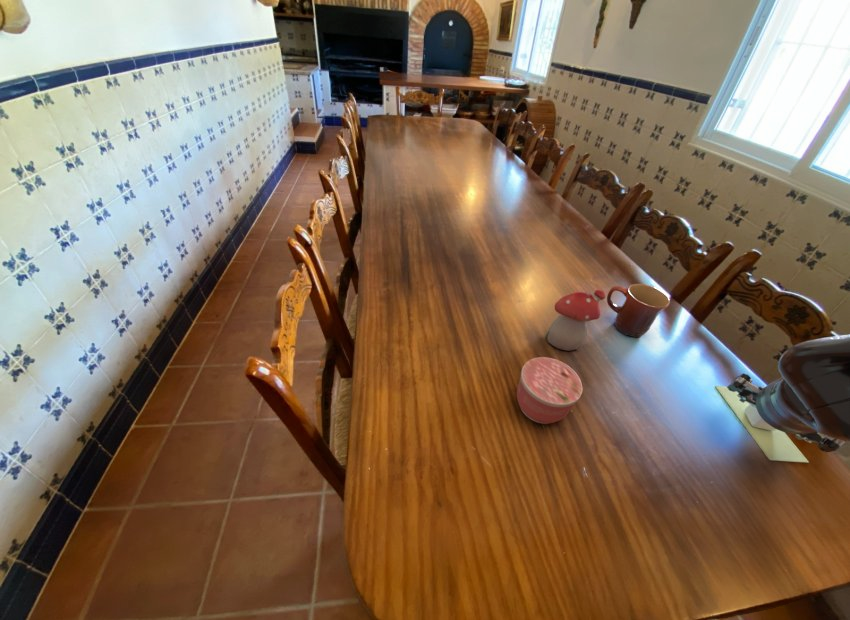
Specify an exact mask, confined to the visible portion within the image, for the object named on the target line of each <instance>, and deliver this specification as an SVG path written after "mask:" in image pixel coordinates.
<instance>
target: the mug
mask: <svg viewBox="0 0 850 620" xmlns="http://www.w3.org/2000/svg"><path fill="white" fill-rule="evenodd" d="M615 291H617V292H620V293H621V294H622V295H623V296H624V297H625V300H624V302H623V304H622V305H620V306H619V305H617V304H615V303H614V302H613V300H612V298H613V297H612V296H613V293H615ZM606 303H607V305H608V307H609V308H610V309H611V310H612V311H613V312H614V313H616V316H615V319H614V325H615V327H616V328H617V330H619V332H621V333H622V334H624V335H627V336H629V337H632V338H633V337H636V338H638V337H643V336H645V334H647V333H648V331H649V330H650V329H651V327H652V325H653V324H654V322H655V321H656V319H657V317H658V315H659V314H661V313H662V311H664V310H665V309H666V308H667V307H669V305H670V304H671V300H670V298H669V296H668V295H667V294H666V293H665V292H663V291H662V290H660V289H659V288H657V287H654V286H652V285H649V284H644V283H633V284H630V285H629V286H628V287H624V286H621V285H615V286H612V287H610V289H609V291H608V292H607V295H606Z"/></svg>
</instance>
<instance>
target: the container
mask: <svg viewBox="0 0 850 620" xmlns="http://www.w3.org/2000/svg"><path fill="white" fill-rule="evenodd" d="M582 394H583V384H582V381H581V378H580V376H579V375H578V374H577V372H576V371H575V370H574V369H573V368H572V367H570V366H569V365H568V364H566V363H565V362H563V361H561V360H559V359H555V358H553V357H552V358H551V357H548V356H547V357H545V356H540V357H534V358H531V359H529V360H527V361H526V362H525V364H524V365H523V366H522V368H521V372H520V378H519V381H518V385H517V387H516V399H517V404H518V405H519V408H520V410H521V412H522V413H523V414H524V415H525V417H526V418H528V419H529V420H531V421H533V422H534V423H538V424H541V425H549V424H554V423H556V422H559V421H562V420H563V419H564V418H566V417H567V415H568V414H569V413H570V411H571V410H572V408H573V407H574V405H575V404H576V403H577V402H578V401H579V400H580V398H581V396H582Z"/></svg>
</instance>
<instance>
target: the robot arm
mask: <svg viewBox="0 0 850 620" xmlns="http://www.w3.org/2000/svg"><path fill="white" fill-rule="evenodd" d="M777 369H778V372H779V373H780V376H781V377H779V378H776V379H775V380H773V381H772V382H770V383H769V384H767V385H766V386H756V385H755V384H753V380H752V377H751V376H750V375H749V374H747V373H741V374H740V375H738V376H737V377H735V378H734V380H733V381H732V382H731V383H730V384H728V385H727V386H726V387H727V388H728V390H730V391H733V392H735V391H737V392H738V393H739V394H738V395H737V396H738V397H739V398H741V399H740V400H739V401H741V402H743V403H744V402H745V401H746V402H747V403H749V404H750V405H751V406H753V407H755V408H757V411H758V413H759V415H760V416H761V418H762V419H763V420H764V421H765V422H766V423H768V424H769V425H770V426H772V427H773V428H775V429H777V430H780V431H782V432H785V434H789V435H794V438H795V439H797V440H798V441H802V440H803V441H805V442H806V443H810V444H813V442H814V443H815V444H818V445H817V448H818V449H819V450H820V451H822V452H825V453H831V452H837V450H838V449H840V447H842V446H843V445H844V444H845V443H847V442H850V333H848V334H841V335H834V336H826V337H820V338H815V339H810V340H806V341H802V342H798V343H796V344H794V345H792V346H790V347H789V348H787V349H786V350H784V351H783V353H782V354H781V356H779V359H778V361H777Z"/></svg>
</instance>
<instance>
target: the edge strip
mask: <svg viewBox="0 0 850 620" xmlns="http://www.w3.org/2000/svg"><path fill="white" fill-rule="evenodd" d="M714 387H715V389H716V390H717V391H718V394H719V395H720V396H721V397H722V398H723V400H724V401H725V402H726V404H727V405H728V407H729V408H730V409H731V410H732V412H733V413H734V415H735V416H736V417H737V419H738V420H739V421H740V423H741V424H742V425H743V428H745V430H746V431H747V432H748V435H750V436H751V438H752V439H753V440H754V442H755V443H756V445H757V446H758V447H759V448H760V450H761V451H762V453H763V454H764V455H765V456H766V459H768V461H769V462H773V461H774V462H787V463H788V462H789V463H802V464H803V463H804V464H809V463H810V461H809V460H808V459H807V458H806V457H805V455H804V454H803V453H802V452H801V450H800V449H799V448H798V447H797V446H796V444H795V443H794V442H793V441H792V440H791V438H790V437H789V435H787V433H785V432H782V431H780V430H777V429H776V430H774V431H770V430H766V429H761V428H757V427H754V426H752V425H751V423H750V421H749V420H748V418H747V416H746V414H745V409H746V408H747V407H748V406H749V405H750V404H749V403H747V402H746V401H745V402H744V403H743V402H741V401H739V400H740V399H741V398H739V397H738V396H737V395H738V394H739V393H738V392H737V391H735V392H733V391H730V390H728V388H727V386H723V385H714Z"/></svg>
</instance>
